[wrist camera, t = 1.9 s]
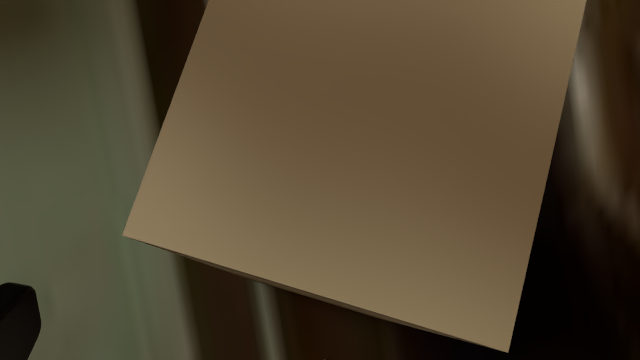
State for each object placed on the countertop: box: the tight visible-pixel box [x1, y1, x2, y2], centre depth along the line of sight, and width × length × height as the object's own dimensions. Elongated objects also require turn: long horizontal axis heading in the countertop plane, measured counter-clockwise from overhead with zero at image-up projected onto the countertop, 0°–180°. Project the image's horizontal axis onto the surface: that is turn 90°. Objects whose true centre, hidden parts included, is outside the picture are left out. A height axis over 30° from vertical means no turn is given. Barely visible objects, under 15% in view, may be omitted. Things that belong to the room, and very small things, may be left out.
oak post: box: [123, 0, 586, 353], centre depth 13 cm, size 4×4×13 cm
